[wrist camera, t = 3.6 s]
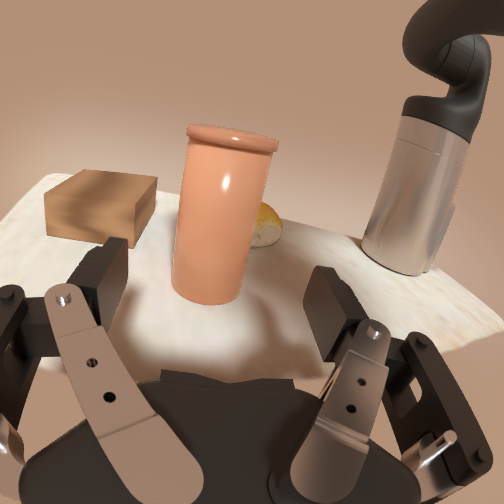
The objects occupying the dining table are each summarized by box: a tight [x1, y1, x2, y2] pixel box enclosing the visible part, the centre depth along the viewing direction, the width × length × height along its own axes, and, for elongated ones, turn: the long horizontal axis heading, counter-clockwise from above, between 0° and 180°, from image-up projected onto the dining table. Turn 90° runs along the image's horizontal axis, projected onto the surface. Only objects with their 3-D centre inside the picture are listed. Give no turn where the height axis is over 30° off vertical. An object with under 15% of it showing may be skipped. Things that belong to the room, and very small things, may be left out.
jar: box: [171, 124, 279, 305], centre depth 19 cm, size 6×6×11 cm
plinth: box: [44, 169, 158, 248], centre depth 26 cm, size 9×9×4 cm
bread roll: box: [250, 202, 282, 248], centre depth 31 cm, size 8×9×4 cm
